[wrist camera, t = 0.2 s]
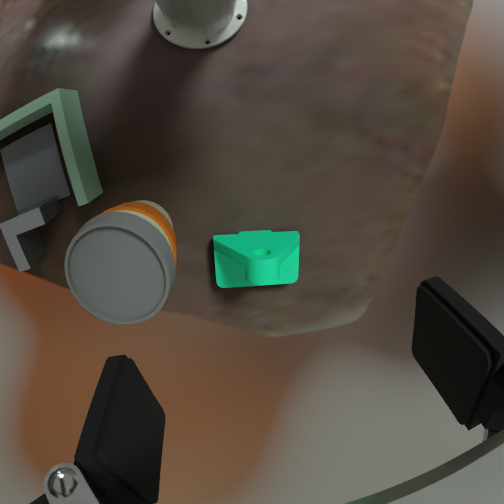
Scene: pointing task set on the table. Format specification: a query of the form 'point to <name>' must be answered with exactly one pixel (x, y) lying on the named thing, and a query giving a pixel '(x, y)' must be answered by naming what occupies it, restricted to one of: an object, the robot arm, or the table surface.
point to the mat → (35, 168)
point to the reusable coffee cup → (123, 262)
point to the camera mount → (256, 258)
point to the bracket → (29, 231)
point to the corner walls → (63, 138)
